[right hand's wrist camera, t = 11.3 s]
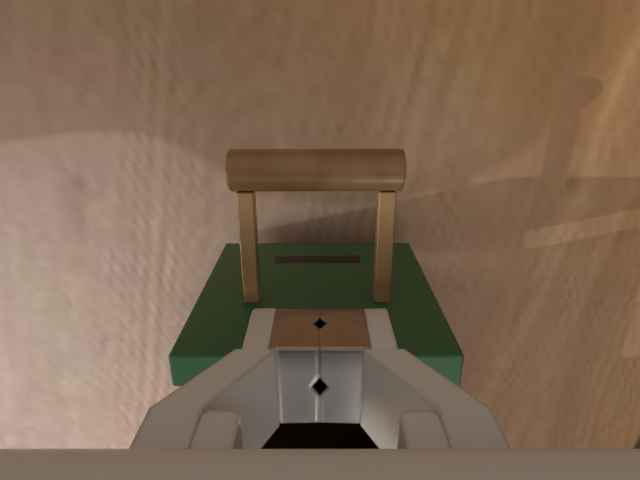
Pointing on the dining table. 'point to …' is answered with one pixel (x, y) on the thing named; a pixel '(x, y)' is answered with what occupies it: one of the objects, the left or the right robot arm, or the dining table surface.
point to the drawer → (315, 276)
